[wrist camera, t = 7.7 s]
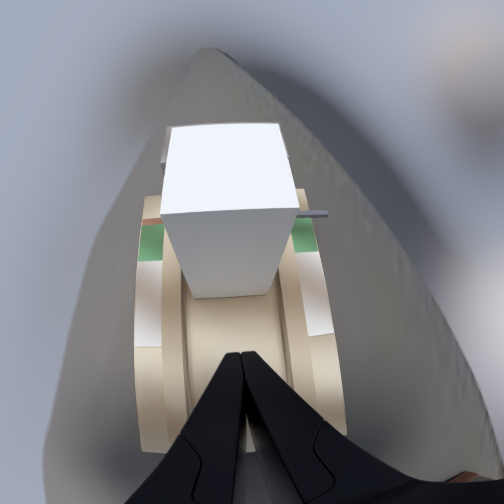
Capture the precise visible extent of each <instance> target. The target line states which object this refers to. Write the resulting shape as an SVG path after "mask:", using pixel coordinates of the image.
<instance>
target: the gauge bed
mask: <svg viewBox="0 0 504 504" xmlns="http://www.w3.org/2000/svg"><path fill="white" fill-rule="evenodd" d="M216 124H278V125H279V128H280V132H281V135H282V139H283V143H284V146H285V150H286V154H287V158H288V159H289V156H288V152H287V149H286V145H285V141H284V138H283V134H282V131H281V127H280V124H279V123H275V122H236V123H211V124H195V125H183V126H173V127H167V130H166V135H165V140H164V146H163V151H162V157H161V167H162V171H163V175H164V176H165V169H166V162H167V155H168V149H169V143H170V137H171V131H172V128H175V127H186V126H199V125H216ZM295 190H296V194H297V198H298V202H299V207H300V208H299V211H303V210H309V207H308V203H307V199H306V196H305V192H304V189H295ZM161 200H162V195H158V196H147V197H145V202H144V209H143V216H142V224H141V232H140V241H139V251H138V262H137V275H136V290H135V315H134V364H135V387H136V402H137V414H138V425H139V434H140V442H141V449H142V452H152V453H165V454H166V453H167V452H168V450H169V449H170V447H171V446H172V444H173V442H174V441H175V439H176V437H177V436H178V434H180V431H181V429H182V428H183V426H184V424H185V423H186V421H187V419H188V417H189V416H190V414H191V412H192V411H193V409H194V407H195V406H196V404H197V402H198V400H199V399H200V397H201V395H202V394H203V392H204V390H205V388H206V387H207V385H208V383H209V381H210V380H211V378H212V376H213V374H214V373H215V371H216V369H217V367H218V366H219V364H220V362H221V360H222V359H223V357H224V355H225V354H226V353H228V352H240V354H241V352H243V351H256V352H257V353H258V354H259V355H260V356H261V357H262V359H263V360H264V361H265V362H266V363H267V364H268V365H269V366H270V367H271V368H272V369H273V370H274V371H275V372H276V373H277V374H278V375H279V376H280V377H281V378H282V379H283V380H284V381H285V382H286V383H287V384H288V385H289V386H290V387H291V388H292V389H293V390H294V391H295V392H296V393H297V394H299V395H300V396H301V397H302V398H303V399H304V400H305V401H306V402H307V403H308V404H309V405H310V406H311V407H312V408H313V409H314V410H315V411H316V412H318V413H319V414H320V415H321V416H322V417H323V418H324V420H326V421H328V422H329V423H330V424H331V425H332V426H333V427H334V428H335V429H336V430H338V431H339V432H340V433H341V434H342V435H347V426H346V416H345V406H344V398H343V389H342V381H341V374H340V366H339V359H338V352H337V346H336V339H335V333H334V327H333V321H332V316H331V310H330V304H329V299H328V294H327V289H326V283H325V278H324V274H323V269H322V264H321V259H320V255H319V250H318V245H317V241H316V237H315V232H314V228H313V224H312V220H311V218H296V219H295V222H294V225H293V228H292V230H291V233H290V236H289V239H288V241H287V244H286V247H285V250H284V252H283V255H282V258H281V261H280V263H279V266H278V269H277V271H276V274H275V277H274V279H273V282H272V285H271V287H270V290H269V292H268V294H265V295H251V296H236V297H220V298H201V299H194V297H193V295H192V292H191V290H190V288H189V286H188V283H187V281H186V279H185V276H184V274H183V271H182V269H181V267H180V264H179V262H178V259H177V257H176V254H175V252H174V250H173V247H172V244H171V242H170V239H169V237H168V234H167V232H166V229H165V226H164V224H163V221H162V218H161V216H160V209H161ZM246 417H247V415H246ZM246 452H256V451H255V447H254V444H253V440H252V437H251V433H250V430H249V426H248V421H247V445H246Z"/></svg>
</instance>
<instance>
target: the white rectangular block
mask: <svg viewBox="0 0 504 504" xmlns="http://www.w3.org/2000/svg"><path fill="white" fill-rule="evenodd" d="M299 208H300V207H299V202H298V198H297V194H296V190H295V186H294V182H293V177H292V173H291V169H290V166H289V162H288V158H287V154H286V150H285V146H284V143H283V139H282V135H281V132H280V128H279V125H278V124H216V125H199V126H186V127H175V128H172V131H171V137H170V143H169V149H168V155H167V162H166V169H165V176H164V183H163V191H162V200H161V209H160V216H161V218H162V221H163V224H164V226H165V229H166V232H167V234H168V237H169V239H170V242H171V244H172V247H173V250H174V252H175V254H176V257H177V259H178V262H179V264H180V267H181V269H182V271H183V274H184V276H185V279H186V281H187V283H188V286H189V288H190V290H191V292H192V295H193V297H194V299H201V298H220V297H236V296H251V295H265V294H268V292H269V290H270V287H271V285H272V282H273V279H274V277H275V274H276V271H277V269H278V266H279V263H280V261H281V258H282V255H283V252H284V250H285V247H286V244H287V241H288V239H289V236H290V233H291V230H292V228H293V225H294V222H295V219H296V218H319V217H327V216H328V212H327V210H303V211H299Z"/></svg>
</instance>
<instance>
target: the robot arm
mask: <svg viewBox="0 0 504 504" xmlns="http://www.w3.org/2000/svg"><path fill="white" fill-rule="evenodd" d="M246 415H247V417H246ZM247 421H248V426H249V430H250V433H251V437H252V440H253V444H254V447H255V451H256V454H257V457H258V461H259V464H260V467H261V471H262V474H263V477H264V480H265V484H266V487H267V490H268V493H269V496H270V499H271V502H272V504H504V479H498V480H490V481H476V482H431V481H424V480H419V479H415V478H412V477H410V476H407V475H405V474H403V473H401V472H400V471H398V470H396V469H394V468H393V467H391V466H389V465H387V464H386V463H384V462H382V461H381V460H379V459H377V458H376V457H374V456H372V455H371V454H369V453H368V452H366V451H365V450H363V449H362V448H360V447H359V446H357V445H356V444H354V443H353V442H351V441H350V440H349V439H347V438H346V437H345V436H344V435H342V434H341V433H340V432H339V431H338V430H336V429H335V428H334V427H333V426H332V425H331V424H330V423H329V422H328V421H326V420H324V418H323V417H322V416H321V415H320V414H319V413H318V412H316V411H315V410H314V409H313V408H312V407H311V406H310V405H309V404H308V403H307V402H306V401H305V400H304V399H303V398H302V397H301V396H300V395H299V394H297V393H296V392H295V391H294V390H293V389H292V388H291V387H290V386H289V385H288V384H287V383H286V382H285V381H284V380H283V379H282V378H281V377H280V376H279V375H278V374H277V373H276V372H275V371H274V370H273V369H272V368H271V367H270V366H269V365H268V364H267V363H266V362H265V361H264V360H263V359H262V357H261V356H260V355H259V354H258V353H257V352H256V351H243V352H241V354H240V352H228V353H226V354H225V355H224V357H223V359H222V360H221V362H220V364H219V366H218V367H217V369H216V371H215V373H214V374H213V376H212V378H211V380H210V381H209V383H208V385H207V387H206V388H205V390H204V392H203V394H202V395H201V397H200V399H199V400H198V402H197V404H196V406H195V407H194V409H193V411H192V412H191V414H190V416H189V417H188V419H187V421H186V423H185V424H184V426H183V428H182V429H181V431H180V434H178V436H177V437H176V439H175V441H174V442H173V444H172V446H171V447H170V449H169V450H168V452H167V453H166V455H165V456H164V458H163V459H162V460H161V462H160V463H159V464H158V465H157V467H156V468H155V469H154V470H153V472H152V473H151V474H150V475H149V476H148V477H147V479H146V480H145V481H144V482H143V483H142V484H141V485H140V487H139V488H138V489H137V490H136V491H135V492H134V493H133V494H132V495H131V496H130V498H129V499H128V500H127V501H126V502H125V503H124V504H245V485H246V445H247Z"/></svg>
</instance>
